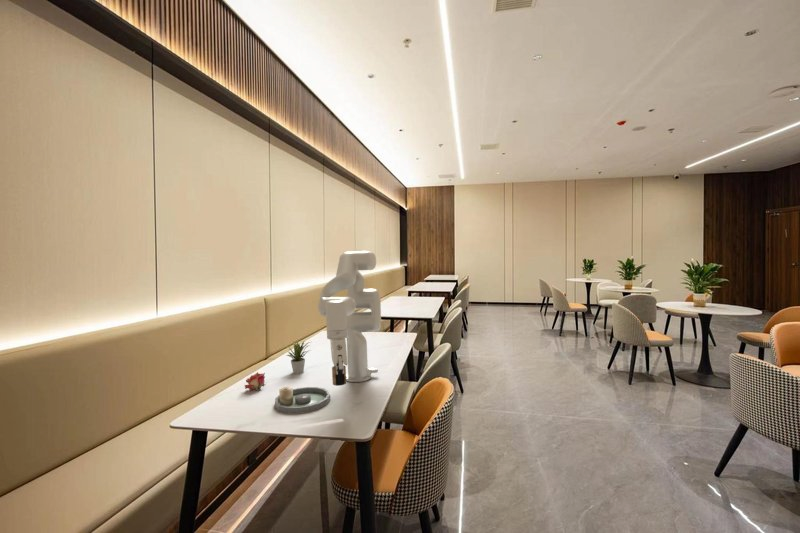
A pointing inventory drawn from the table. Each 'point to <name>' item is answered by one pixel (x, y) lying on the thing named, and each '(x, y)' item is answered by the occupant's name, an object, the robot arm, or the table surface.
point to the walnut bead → (335, 375)
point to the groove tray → (305, 400)
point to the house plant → (298, 357)
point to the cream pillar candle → (286, 396)
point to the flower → (255, 381)
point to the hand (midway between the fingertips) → (339, 381)
